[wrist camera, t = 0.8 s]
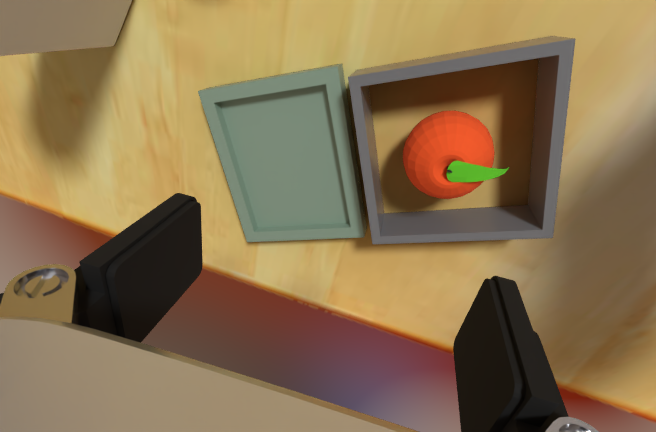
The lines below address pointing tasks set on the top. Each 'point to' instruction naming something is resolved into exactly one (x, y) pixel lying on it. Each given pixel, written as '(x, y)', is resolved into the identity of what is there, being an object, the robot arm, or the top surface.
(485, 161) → the clementine
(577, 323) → the top surface
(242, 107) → the tray
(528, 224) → the open square sleeve
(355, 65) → the top surface
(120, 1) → the milk carton
